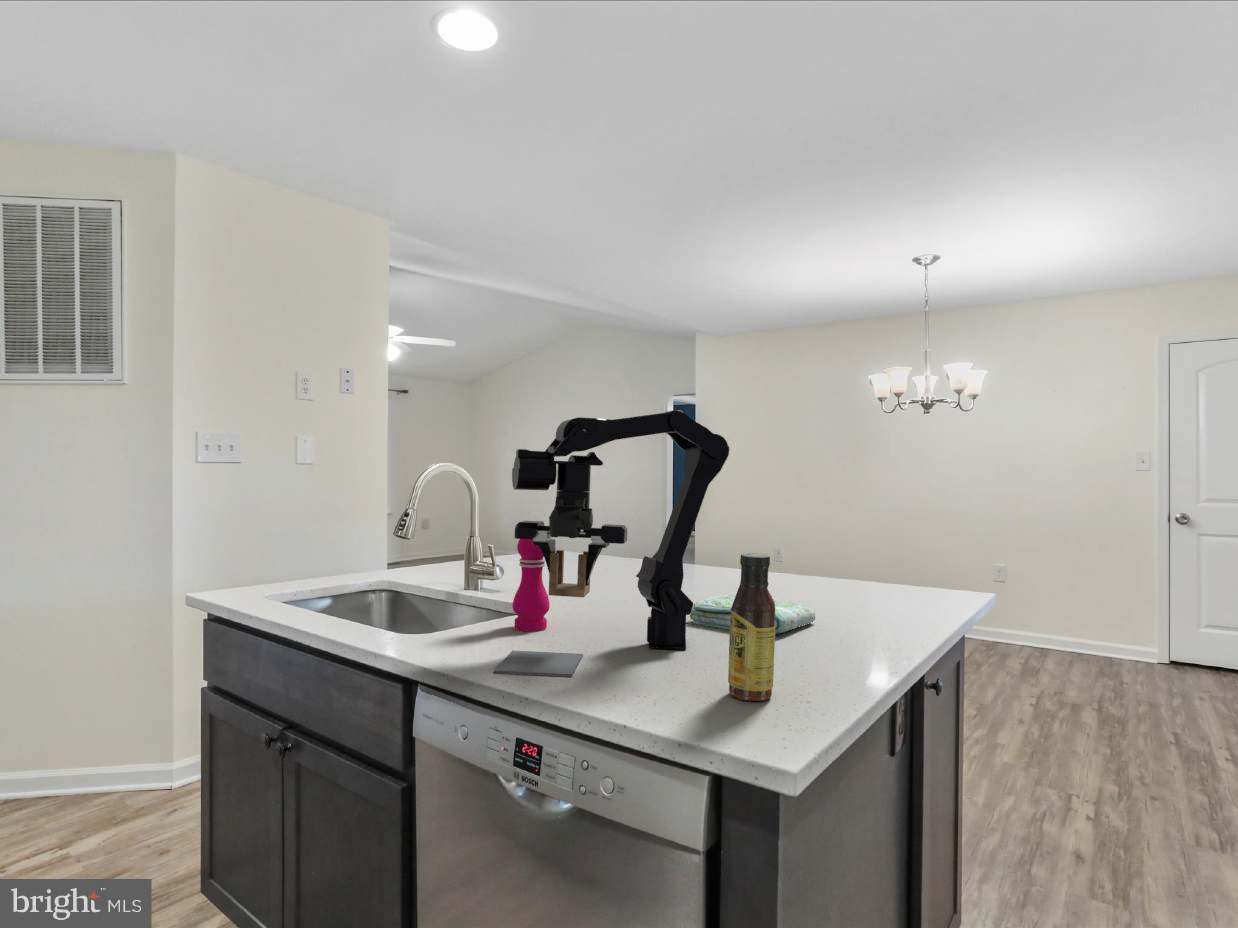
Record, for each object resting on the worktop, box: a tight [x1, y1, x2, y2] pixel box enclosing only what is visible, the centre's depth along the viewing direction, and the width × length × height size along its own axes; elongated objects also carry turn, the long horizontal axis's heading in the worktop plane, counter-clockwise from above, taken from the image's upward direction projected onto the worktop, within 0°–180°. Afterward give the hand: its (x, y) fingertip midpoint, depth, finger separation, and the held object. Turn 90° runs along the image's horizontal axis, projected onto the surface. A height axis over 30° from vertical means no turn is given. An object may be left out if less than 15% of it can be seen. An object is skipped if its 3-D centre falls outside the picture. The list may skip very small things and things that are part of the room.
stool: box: [548, 549, 591, 598], centre depth 119 cm, size 6×6×7 cm
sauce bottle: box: [727, 552, 776, 702], centre depth 97 cm, size 6×6×20 cm
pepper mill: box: [512, 538, 550, 632], centre depth 137 cm, size 7×7×20 cm
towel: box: [689, 594, 816, 635], centre depth 146 cm, size 18×21×5 cm
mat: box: [493, 650, 584, 678], centre depth 111 cm, size 12×12×1 cm
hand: (569, 582), depth 119 cm, fingers closed on stool, 5 cm apart
